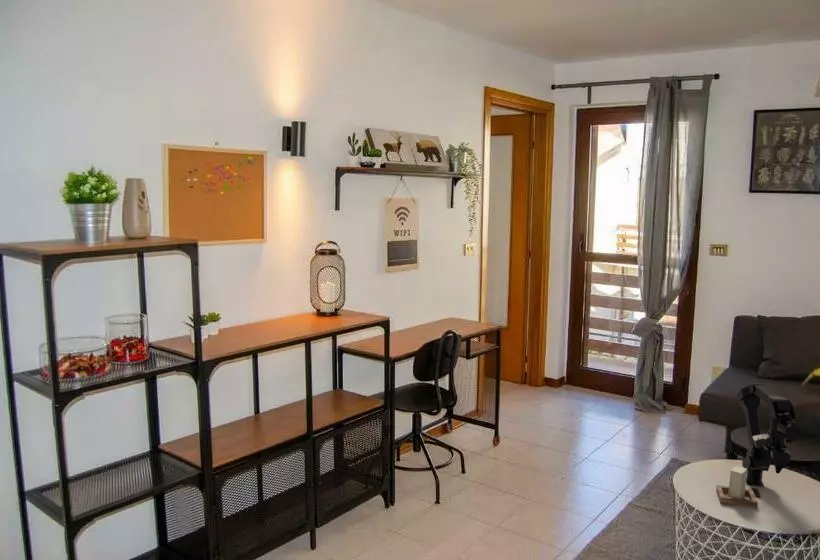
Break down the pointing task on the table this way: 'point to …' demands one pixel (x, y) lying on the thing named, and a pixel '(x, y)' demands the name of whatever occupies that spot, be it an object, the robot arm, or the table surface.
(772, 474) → the table surface
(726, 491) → the walnut holder
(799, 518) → the table surface
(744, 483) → the skincare box
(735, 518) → the table surface
